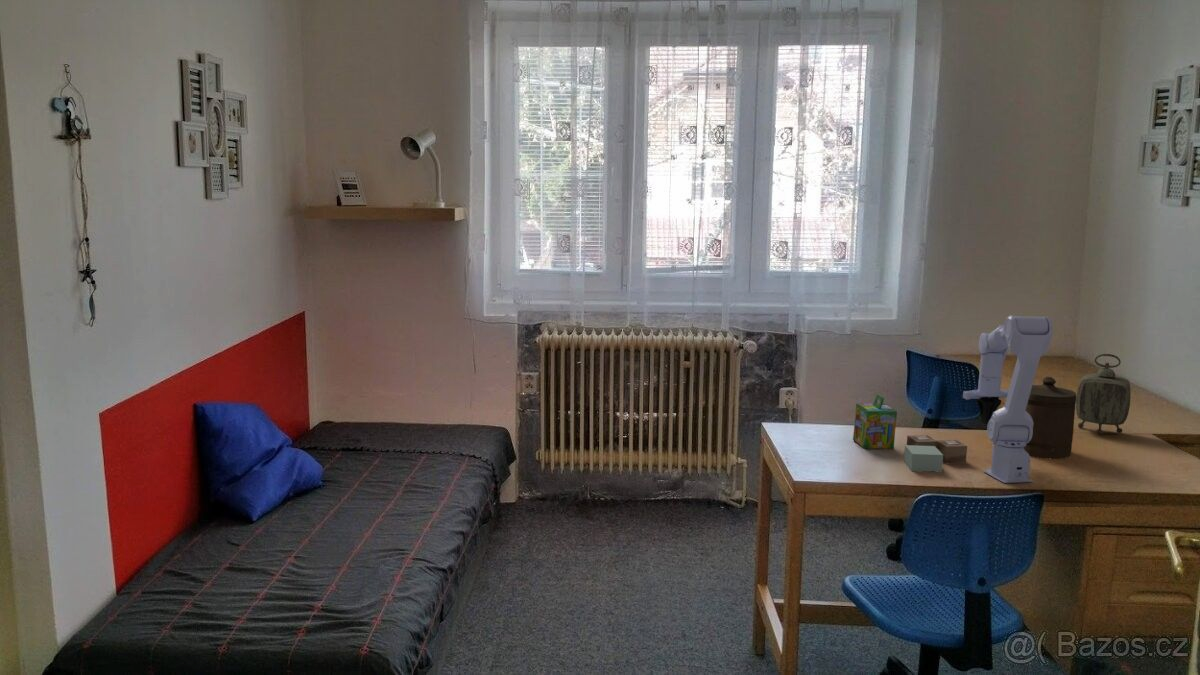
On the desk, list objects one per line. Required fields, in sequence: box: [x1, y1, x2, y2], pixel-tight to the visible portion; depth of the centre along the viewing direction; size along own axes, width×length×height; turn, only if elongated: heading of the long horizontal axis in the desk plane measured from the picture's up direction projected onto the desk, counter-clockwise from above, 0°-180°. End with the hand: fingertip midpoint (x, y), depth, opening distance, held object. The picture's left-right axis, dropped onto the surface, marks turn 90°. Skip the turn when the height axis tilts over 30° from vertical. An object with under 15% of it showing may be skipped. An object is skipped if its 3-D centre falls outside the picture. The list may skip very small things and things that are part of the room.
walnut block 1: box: [906, 434, 938, 448], centre depth 251 cm, size 6×6×5 cm
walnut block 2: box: [935, 439, 968, 464], centre depth 247 cm, size 6×6×5 cm
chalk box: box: [852, 394, 898, 450], centre depth 259 cm, size 9×9×15 cm
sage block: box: [903, 444, 943, 473], centre depth 240 cm, size 8×8×5 cm
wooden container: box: [1024, 376, 1077, 460], centre depth 254 cm, size 15×15×22 cm
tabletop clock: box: [1075, 353, 1132, 435], centre depth 274 cm, size 14×9×25 cm, turn 59°
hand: (985, 423), depth 250 cm, fingers closed
